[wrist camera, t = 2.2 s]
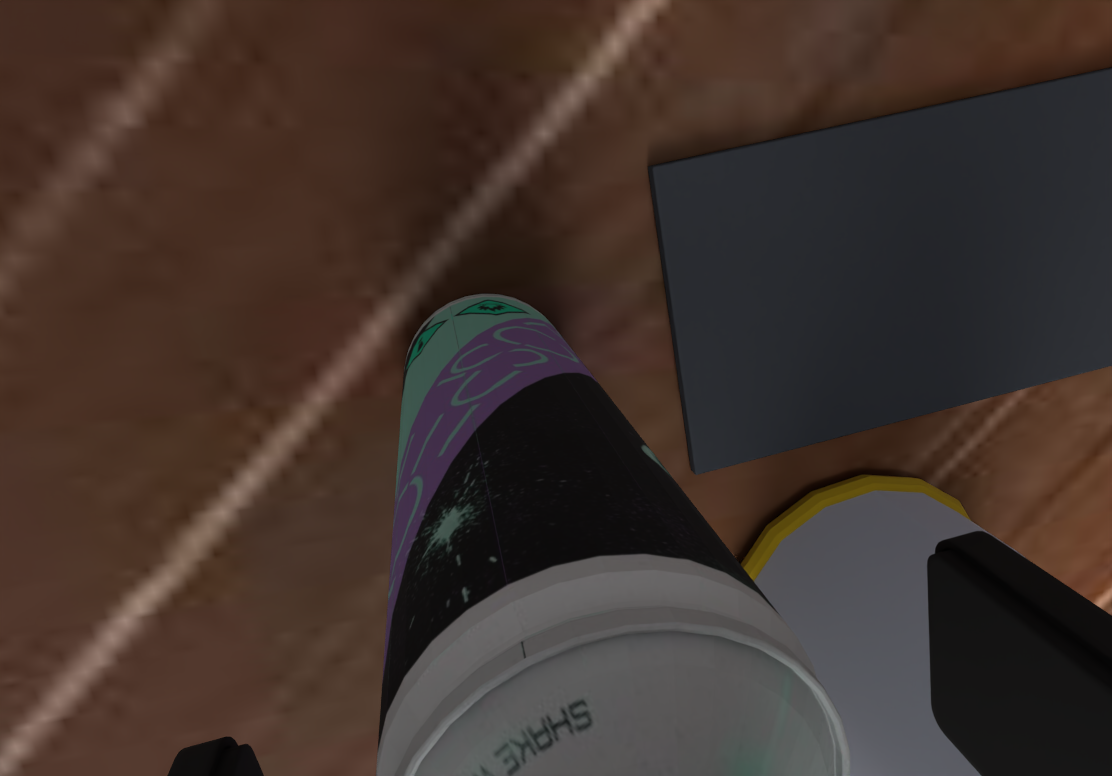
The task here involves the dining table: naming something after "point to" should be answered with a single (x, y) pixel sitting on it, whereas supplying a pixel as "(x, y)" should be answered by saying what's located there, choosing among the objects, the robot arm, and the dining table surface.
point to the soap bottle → (867, 611)
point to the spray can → (569, 585)
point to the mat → (888, 266)
